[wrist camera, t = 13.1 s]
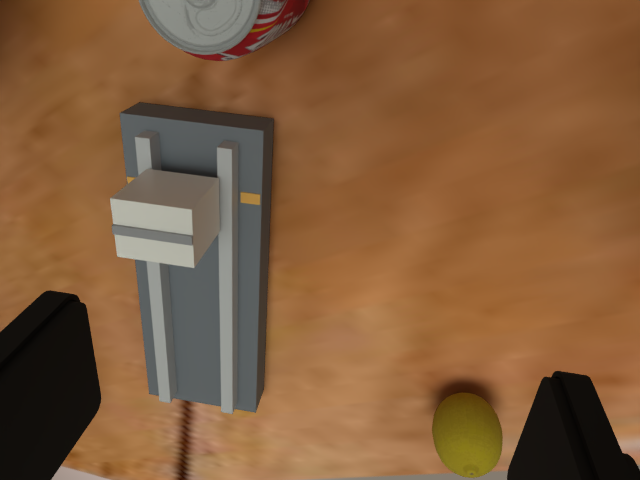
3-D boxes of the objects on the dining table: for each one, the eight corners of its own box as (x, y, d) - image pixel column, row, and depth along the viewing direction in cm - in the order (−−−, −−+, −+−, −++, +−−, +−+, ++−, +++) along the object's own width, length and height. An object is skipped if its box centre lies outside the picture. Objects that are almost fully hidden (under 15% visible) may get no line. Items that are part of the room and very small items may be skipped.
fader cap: (225, 170, 36) (190, 211, 31) (226, 222, 38) (193, 269, 33) (156, 161, 37) (108, 199, 31) (160, 212, 39) (115, 258, 33)
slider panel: (273, 118, 38) (257, 137, 34) (263, 388, 50) (251, 425, 46) (139, 102, 39) (108, 119, 35) (162, 371, 51) (142, 406, 47)
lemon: (421, 408, 48) (423, 485, 41) (445, 365, 46) (451, 439, 39) (479, 427, 48) (490, 506, 41) (506, 385, 46) (523, 462, 39)
